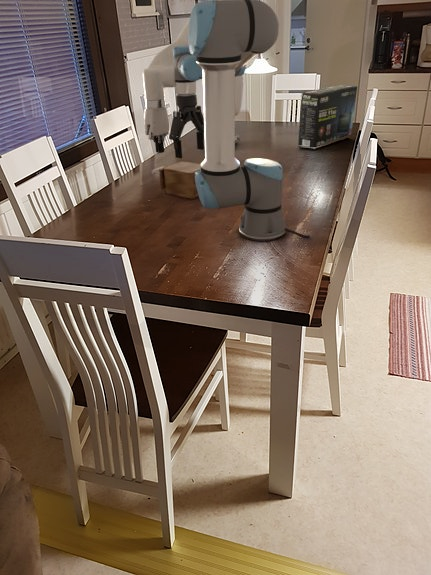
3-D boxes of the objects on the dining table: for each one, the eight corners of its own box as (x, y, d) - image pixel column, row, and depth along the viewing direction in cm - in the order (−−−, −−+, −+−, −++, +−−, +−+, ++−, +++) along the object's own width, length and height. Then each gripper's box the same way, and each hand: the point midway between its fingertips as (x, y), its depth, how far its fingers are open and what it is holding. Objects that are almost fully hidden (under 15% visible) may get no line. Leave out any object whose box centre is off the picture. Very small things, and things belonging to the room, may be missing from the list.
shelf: (150, 186, 190) (147, 167, 186) (165, 180, 197) (163, 161, 193) (183, 194, 181) (182, 173, 177) (199, 186, 188) (197, 167, 184)
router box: (314, 151, 231) (318, 94, 217) (296, 148, 237) (299, 92, 224) (352, 138, 251) (358, 85, 238) (335, 135, 258) (340, 83, 245)
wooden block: (166, 193, 186) (163, 168, 180) (183, 185, 193) (181, 161, 188) (192, 199, 179) (190, 173, 173) (209, 190, 186) (207, 165, 181)
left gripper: (161, 100, 183) (165, 146, 192) (134, 106, 172) (140, 155, 182) (175, 101, 179) (179, 149, 188) (149, 107, 168) (154, 157, 178)
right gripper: (198, 88, 176) (201, 144, 187) (155, 99, 159) (161, 160, 170) (214, 89, 172) (216, 147, 183) (172, 100, 155) (177, 163, 166)
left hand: (160, 152), depth 185 cm, fingers closed
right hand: (190, 153), depth 176 cm, fingers open, 13 cm apart
